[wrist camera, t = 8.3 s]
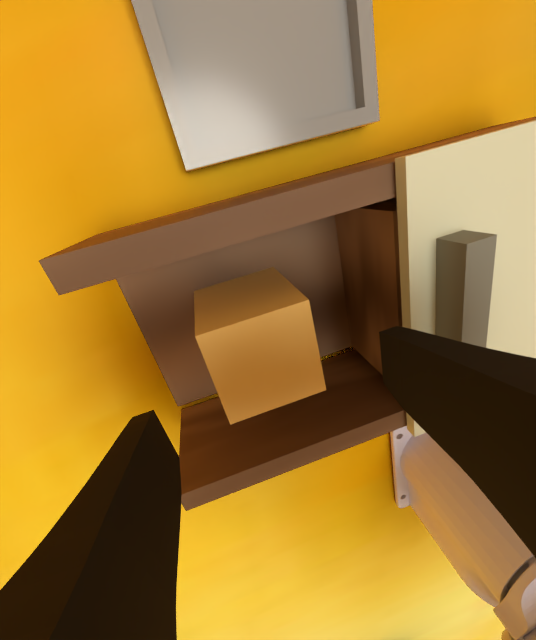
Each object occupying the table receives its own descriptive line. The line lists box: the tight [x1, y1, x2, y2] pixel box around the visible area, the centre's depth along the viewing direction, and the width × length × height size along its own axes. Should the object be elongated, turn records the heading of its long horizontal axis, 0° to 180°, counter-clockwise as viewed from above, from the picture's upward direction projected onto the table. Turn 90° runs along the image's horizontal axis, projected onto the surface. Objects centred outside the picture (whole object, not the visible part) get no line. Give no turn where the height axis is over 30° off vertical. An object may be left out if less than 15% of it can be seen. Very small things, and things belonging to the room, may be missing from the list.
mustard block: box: [194, 267, 326, 425], centre depth 13 cm, size 4×4×5 cm
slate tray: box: [131, 0, 380, 172], centre depth 11 cm, size 8×8×1 cm
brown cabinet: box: [39, 117, 536, 511], centre depth 14 cm, size 11×20×5 cm, turn 104°
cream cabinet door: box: [395, 120, 536, 437], centre depth 11 cm, size 11×8×2 cm
